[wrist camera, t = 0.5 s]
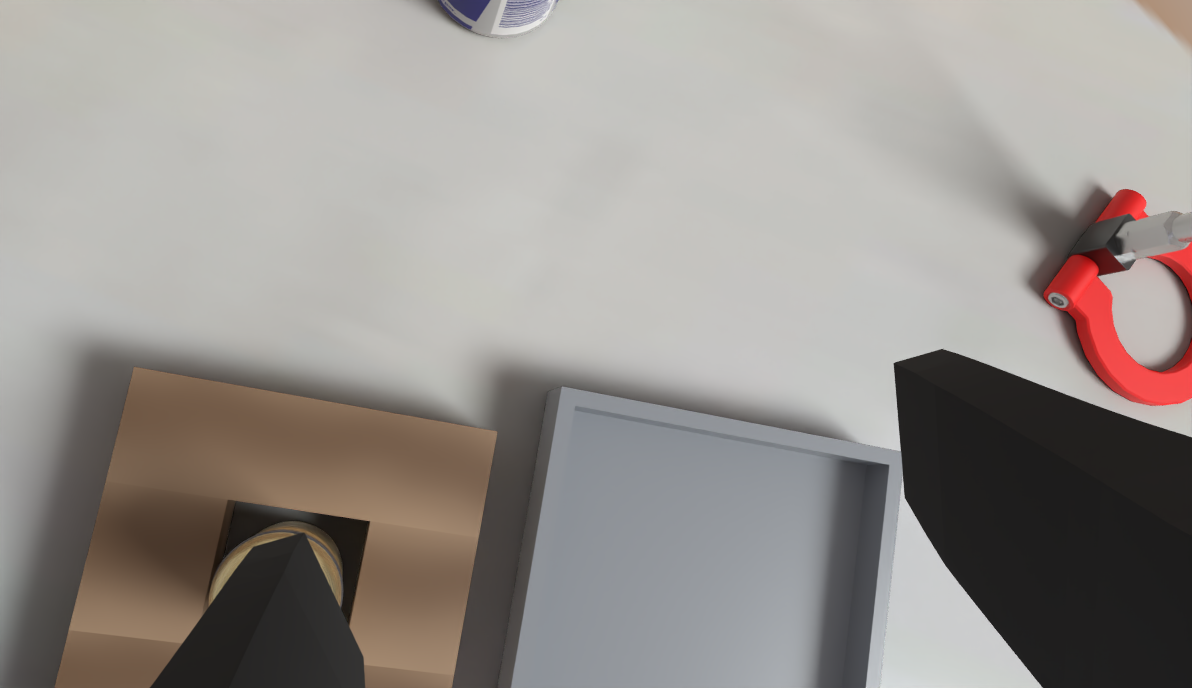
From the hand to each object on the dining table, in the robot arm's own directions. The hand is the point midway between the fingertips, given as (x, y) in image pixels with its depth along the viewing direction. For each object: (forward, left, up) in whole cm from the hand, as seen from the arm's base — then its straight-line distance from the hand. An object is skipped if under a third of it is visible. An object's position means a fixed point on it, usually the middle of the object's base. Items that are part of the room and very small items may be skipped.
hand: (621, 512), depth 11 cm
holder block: (-4, +5, -25) cm, 25 cm away
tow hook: (+13, -30, -25) cm, 42 cm away
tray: (-5, -10, -25) cm, 27 cm away
